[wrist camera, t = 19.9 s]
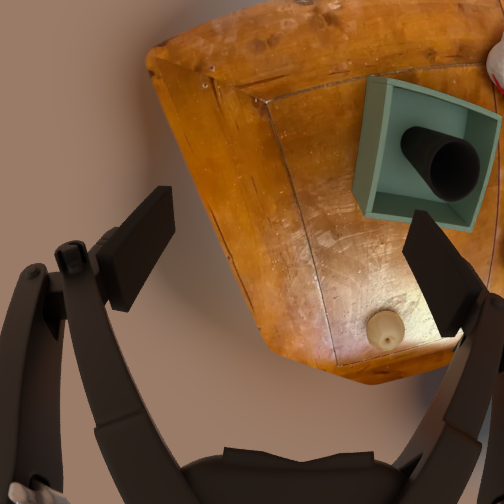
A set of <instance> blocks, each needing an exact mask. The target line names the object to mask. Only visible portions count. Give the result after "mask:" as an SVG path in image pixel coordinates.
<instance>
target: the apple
mask: <svg viewBox="0 0 504 504" xmlns="http://www.w3.org/2000/svg"><path fill="white" fill-rule="evenodd" d="M404 333H405V327H404V323H403V321H402V319H401V318H400V317H399V316H398V315H397V314H396V313H394V312H391V311H382V312H379V313H377V314H375V315H374V316H373V317H372V318H371V319H370V321H369V322H368V325H367V329H366V334H367V338H368V340H369V342H370V344H371V345H372V346H373V347H375V348H377V349H379V350H383V351H389V350H392V349H394V348H396V347H397V346H398V345H399V344H400V343H401V341H402V340H403V337H404Z"/></svg>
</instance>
